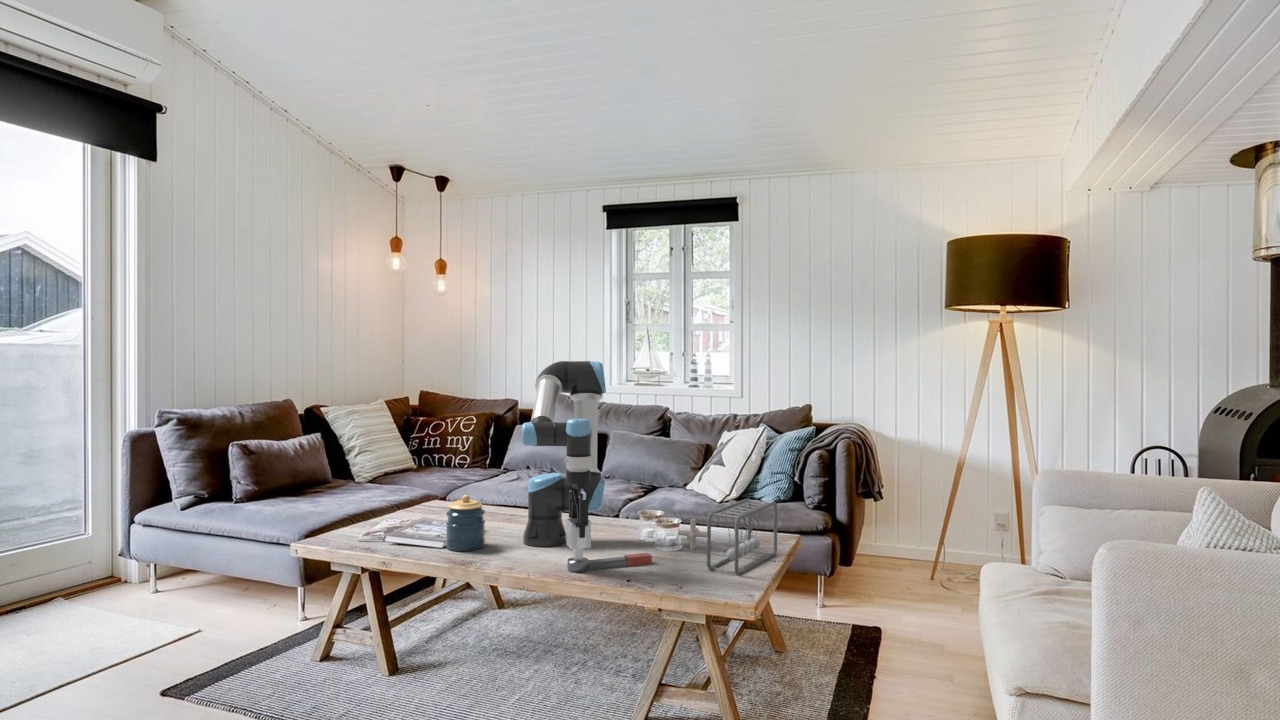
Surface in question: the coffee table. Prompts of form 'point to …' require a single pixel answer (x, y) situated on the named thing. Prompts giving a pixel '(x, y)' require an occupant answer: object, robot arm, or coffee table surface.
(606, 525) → the coffee table surface
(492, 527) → the coffee table surface
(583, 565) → the ratchet
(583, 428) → the robot arm
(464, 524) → the canister
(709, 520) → the newton's cradle
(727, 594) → the coffee table surface
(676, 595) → the coffee table surface
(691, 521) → the beige peg jack
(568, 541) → the light grey block
